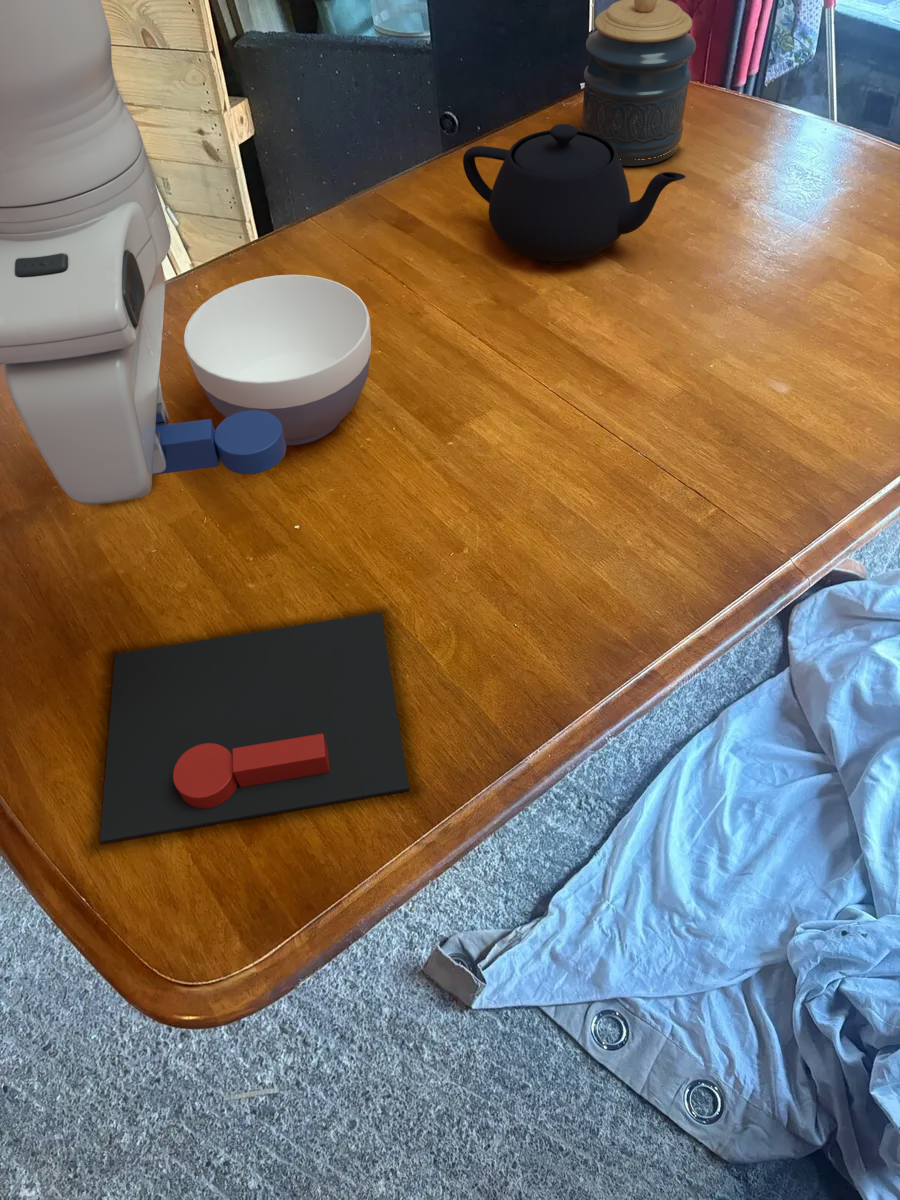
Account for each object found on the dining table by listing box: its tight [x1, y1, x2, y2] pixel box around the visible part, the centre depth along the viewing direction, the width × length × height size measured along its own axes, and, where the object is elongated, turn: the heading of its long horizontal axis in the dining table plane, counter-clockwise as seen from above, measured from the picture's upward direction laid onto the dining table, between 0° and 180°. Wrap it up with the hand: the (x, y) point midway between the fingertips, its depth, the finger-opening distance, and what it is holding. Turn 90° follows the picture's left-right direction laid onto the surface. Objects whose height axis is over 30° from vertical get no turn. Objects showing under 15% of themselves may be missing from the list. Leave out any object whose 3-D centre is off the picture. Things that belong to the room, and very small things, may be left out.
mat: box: [99, 611, 410, 845], centre depth 62 cm, size 20×15×1 cm
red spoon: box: [173, 734, 330, 808], centre depth 59 cm, size 10×4×2 cm, turn 100°
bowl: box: [183, 274, 372, 446], centre depth 80 cm, size 16×16×10 cm
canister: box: [579, 0, 697, 167], centre depth 108 cm, size 13×13×18 cm
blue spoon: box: [152, 410, 287, 476], centre depth 53 cm, size 10×4×2 cm, turn 99°
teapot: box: [462, 123, 686, 265], centre depth 96 cm, size 25×16×12 cm, turn 63°
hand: (153, 447), depth 52 cm, fingers closed on blue spoon, 2 cm apart
